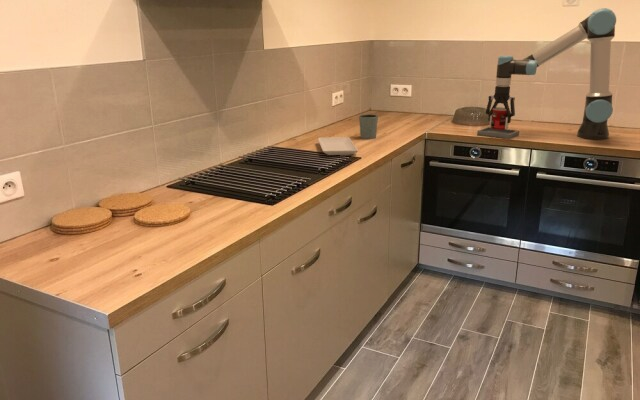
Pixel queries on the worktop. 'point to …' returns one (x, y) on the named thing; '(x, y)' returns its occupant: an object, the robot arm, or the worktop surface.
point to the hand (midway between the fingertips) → (498, 128)
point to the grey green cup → (368, 126)
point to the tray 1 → (337, 145)
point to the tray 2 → (498, 133)
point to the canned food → (499, 118)
